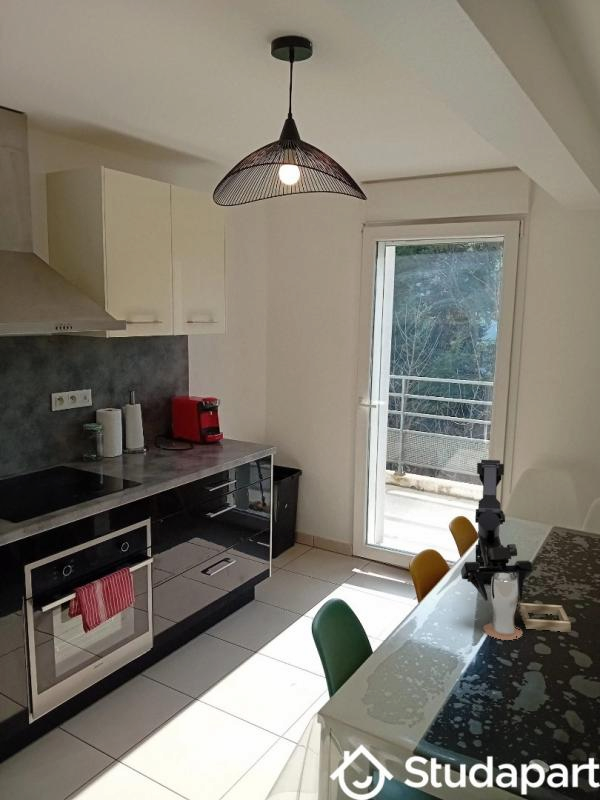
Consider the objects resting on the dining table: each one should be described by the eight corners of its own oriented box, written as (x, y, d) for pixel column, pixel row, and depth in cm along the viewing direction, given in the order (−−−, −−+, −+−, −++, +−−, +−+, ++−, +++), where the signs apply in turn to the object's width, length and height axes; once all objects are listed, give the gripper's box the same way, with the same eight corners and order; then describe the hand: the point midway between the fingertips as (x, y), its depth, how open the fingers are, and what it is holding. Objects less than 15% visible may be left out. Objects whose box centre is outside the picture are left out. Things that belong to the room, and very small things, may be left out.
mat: (485, 639, 167) (485, 638, 167) (482, 622, 177) (482, 621, 177) (525, 641, 165) (525, 640, 165) (519, 624, 175) (519, 623, 175)
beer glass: (487, 632, 170) (488, 579, 168) (493, 622, 176) (493, 570, 174) (515, 638, 167) (516, 583, 165) (519, 627, 173) (520, 574, 171)
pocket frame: (526, 629, 172) (526, 620, 172) (519, 611, 183) (519, 603, 183) (570, 632, 170) (570, 623, 170) (561, 613, 181) (561, 605, 181)
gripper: (464, 533, 173) (475, 589, 164) (531, 532, 174) (547, 587, 164) (456, 551, 182) (466, 605, 172) (520, 550, 182) (534, 603, 173)
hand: (503, 599), depth 170 cm, fingers open, 9 cm apart
